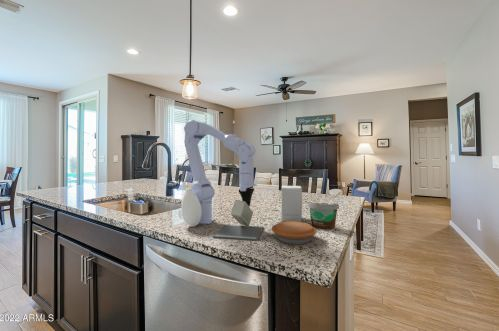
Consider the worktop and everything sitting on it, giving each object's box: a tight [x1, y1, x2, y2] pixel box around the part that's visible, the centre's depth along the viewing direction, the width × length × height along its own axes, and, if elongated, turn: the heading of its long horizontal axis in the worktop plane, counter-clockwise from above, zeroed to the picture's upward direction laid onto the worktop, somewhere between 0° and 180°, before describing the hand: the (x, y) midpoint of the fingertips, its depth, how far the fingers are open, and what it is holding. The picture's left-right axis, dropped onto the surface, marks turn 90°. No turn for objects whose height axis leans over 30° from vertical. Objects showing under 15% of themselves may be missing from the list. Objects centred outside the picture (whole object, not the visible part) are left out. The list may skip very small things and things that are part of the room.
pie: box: [271, 221, 318, 245], centre depth 84 cm, size 16×16×5 cm
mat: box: [212, 224, 264, 242], centre depth 90 cm, size 16×15×1 cm
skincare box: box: [230, 199, 254, 226], centre depth 95 cm, size 6×4×12 cm
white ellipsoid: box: [180, 182, 202, 228], centre depth 98 cm, size 8×8×18 cm
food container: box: [307, 200, 340, 230], centre depth 96 cm, size 12×6×10 cm, turn 62°
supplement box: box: [281, 185, 303, 222], centre depth 109 cm, size 9×9×15 cm
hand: (246, 206), depth 98 cm, fingers closed
